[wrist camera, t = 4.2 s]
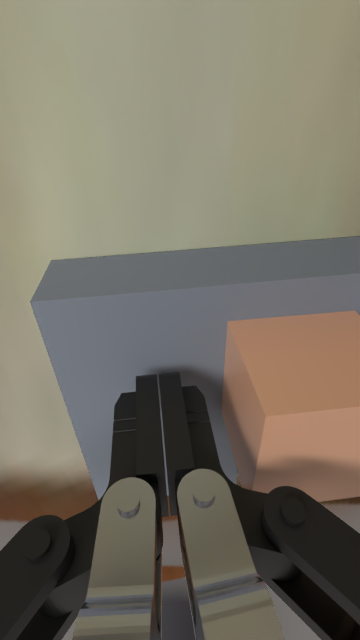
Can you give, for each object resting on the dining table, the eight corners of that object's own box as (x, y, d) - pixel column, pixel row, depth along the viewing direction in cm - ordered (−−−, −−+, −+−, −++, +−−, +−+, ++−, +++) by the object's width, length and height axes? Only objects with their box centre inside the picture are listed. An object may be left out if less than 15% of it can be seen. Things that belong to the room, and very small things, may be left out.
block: (227, 321, 11) (265, 416, 8) (355, 310, 11) (443, 396, 8) (221, 410, 14) (248, 510, 10) (325, 399, 14) (384, 493, 11)
